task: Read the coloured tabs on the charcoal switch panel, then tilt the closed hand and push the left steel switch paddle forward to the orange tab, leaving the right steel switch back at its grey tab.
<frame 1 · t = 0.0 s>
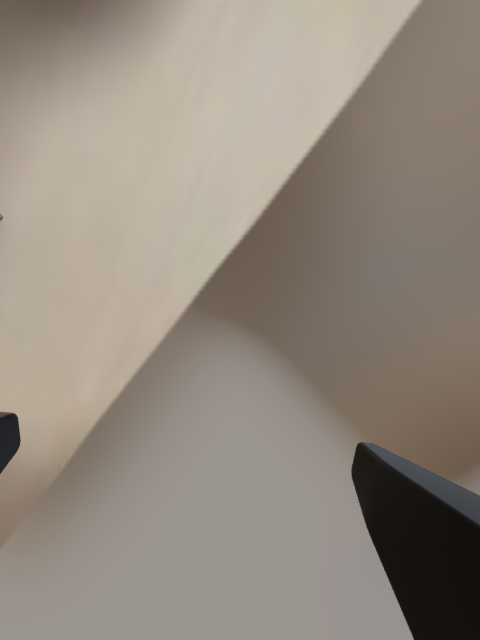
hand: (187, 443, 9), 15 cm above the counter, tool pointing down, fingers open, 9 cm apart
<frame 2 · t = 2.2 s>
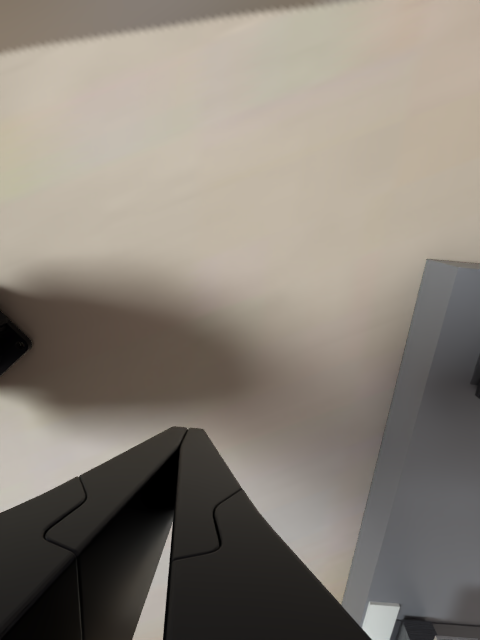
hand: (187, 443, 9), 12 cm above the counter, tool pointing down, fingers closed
switch panel: (473, 485, 24), on the counter
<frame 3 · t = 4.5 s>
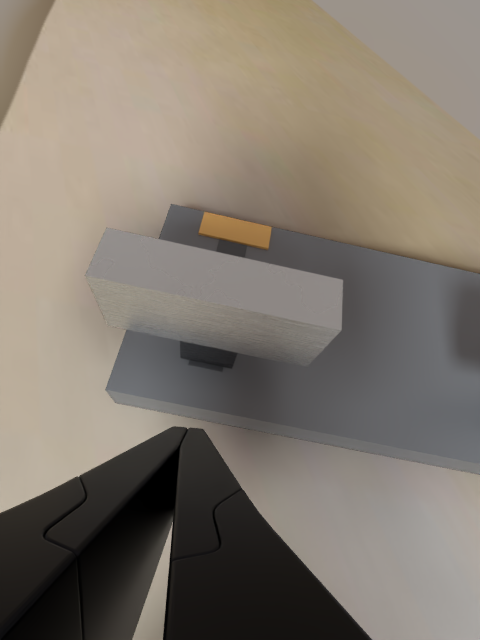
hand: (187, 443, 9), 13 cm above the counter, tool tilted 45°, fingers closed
switch panel: (351, 349, 25), on the counter
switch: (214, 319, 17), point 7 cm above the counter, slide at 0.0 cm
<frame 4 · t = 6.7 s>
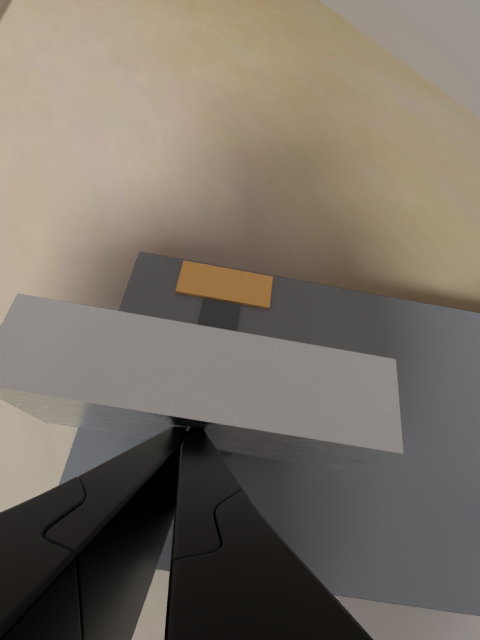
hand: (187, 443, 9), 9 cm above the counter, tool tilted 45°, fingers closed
switch panel: (383, 434, 19), on the counter
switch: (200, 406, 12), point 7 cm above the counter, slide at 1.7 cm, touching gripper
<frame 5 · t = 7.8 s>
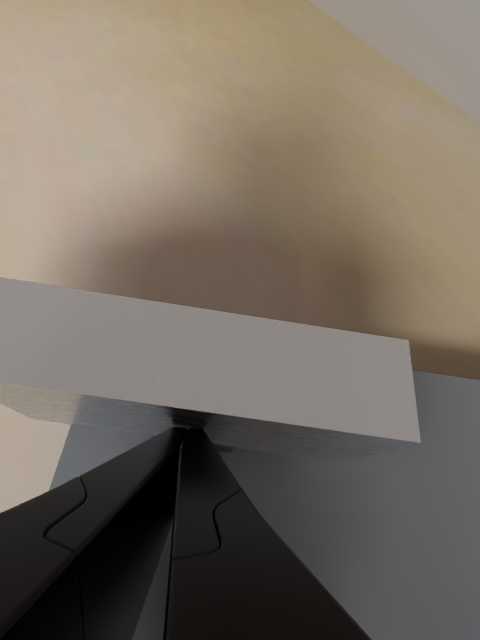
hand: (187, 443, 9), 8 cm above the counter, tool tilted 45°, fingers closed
switch panel: (401, 535, 16), on the counter
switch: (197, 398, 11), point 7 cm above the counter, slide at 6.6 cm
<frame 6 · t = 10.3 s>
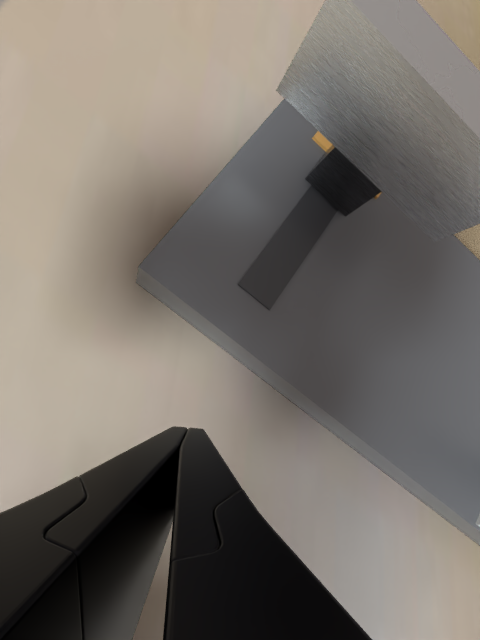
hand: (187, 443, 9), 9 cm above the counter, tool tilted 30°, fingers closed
switch panel: (393, 347, 23), on the counter
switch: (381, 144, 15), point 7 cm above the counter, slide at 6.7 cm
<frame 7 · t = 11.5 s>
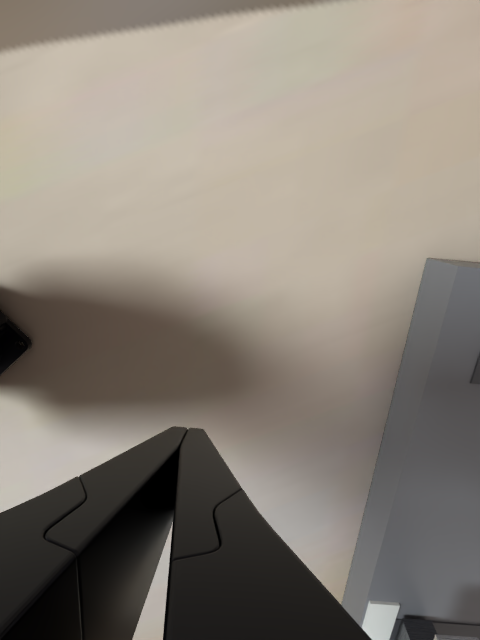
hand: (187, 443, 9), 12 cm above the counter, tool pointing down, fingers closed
switch panel: (473, 484, 24), on the counter
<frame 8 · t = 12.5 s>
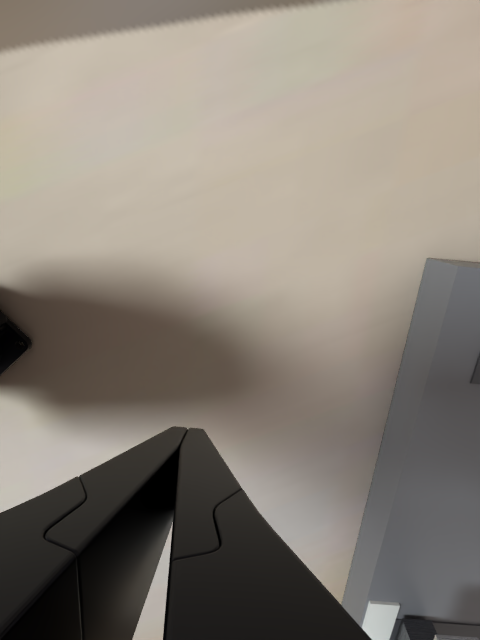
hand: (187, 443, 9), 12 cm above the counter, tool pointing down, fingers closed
switch panel: (473, 484, 24), on the counter
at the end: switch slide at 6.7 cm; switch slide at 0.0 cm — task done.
